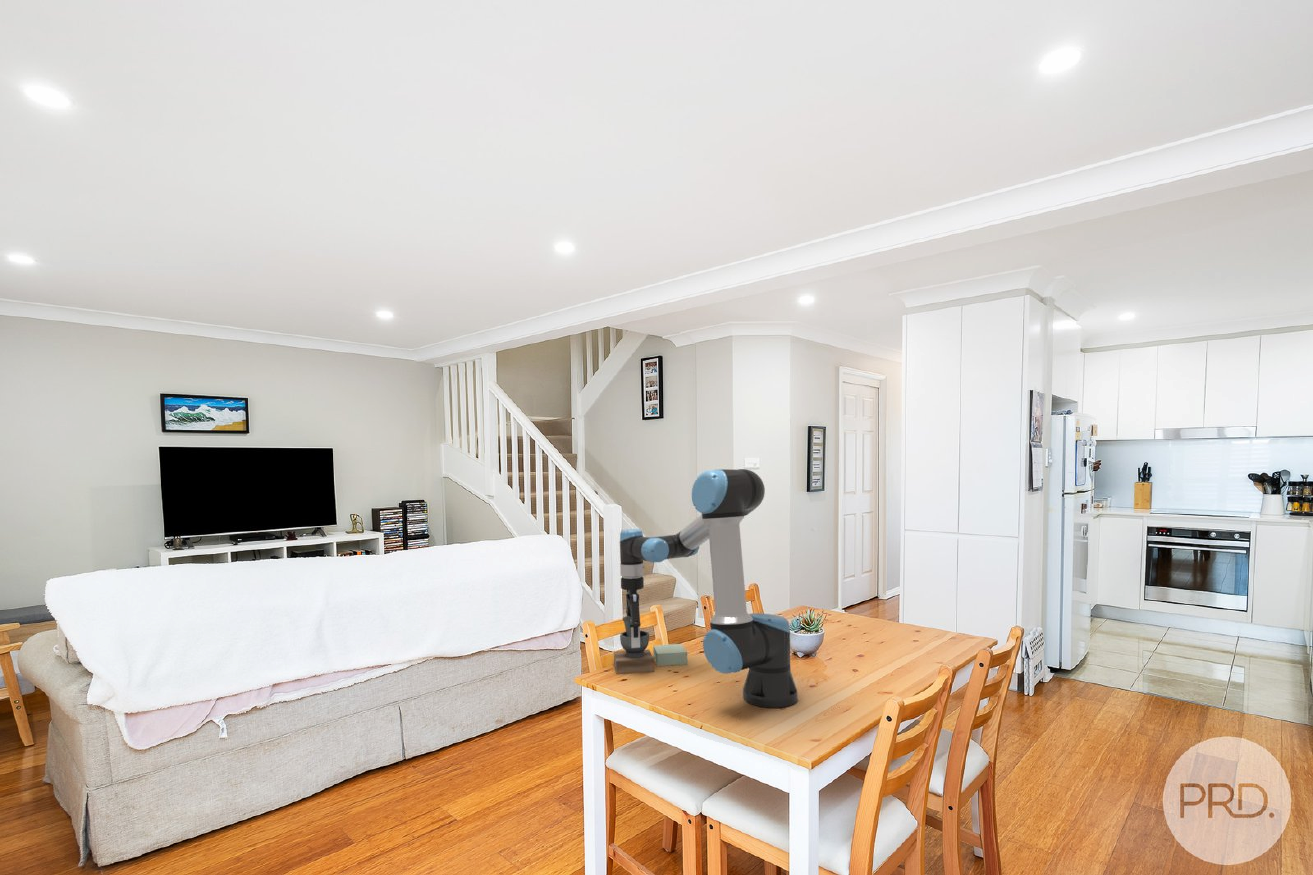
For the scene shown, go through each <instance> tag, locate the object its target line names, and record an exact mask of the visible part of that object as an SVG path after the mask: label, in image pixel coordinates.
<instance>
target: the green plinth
mask: <svg viewBox="0 0 1313 875" xmlns="http://www.w3.org/2000/svg"><path fill="white" fill-rule="evenodd" d="M652 652H653V655H652V657H653V659H654V661H655V662H654V663H656V666H657V667H665V666H680V665H681V666H683V665H688V651H687V649H686V648H685V646H684V645H683V644H682V643H677V644H676V643H675V644H674V643H673V644H659V645H655V644H654V645H653V648H652Z"/></svg>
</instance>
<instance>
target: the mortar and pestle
mask: <svg viewBox="0 0 1313 875" xmlns="http://www.w3.org/2000/svg"><path fill="white" fill-rule="evenodd" d="M630 619H631V617H630V616H627V615H626V616H623V618H622V621H623V623H624V624H623V625H624V628H625V631H624V632H621V633H620V635H619V640H620V645H621V647H622V649H623V651H626V657H628V658H641V657H643V656H644V650H647V647H648V646H649V641H650V632H648V631H646V630H640V648H632V647H631V627H629V626H630V625H632V623H631V620H630Z"/></svg>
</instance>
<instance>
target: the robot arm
mask: <svg viewBox="0 0 1313 875" xmlns="http://www.w3.org/2000/svg"><path fill="white" fill-rule="evenodd" d="M765 491H766V489H765V485H764V481H763V480H762V478H761V477H760V476H759V475H758V474H757V473H756V472H754V471H752V470H750V469H745V468H744V469H743V468H741V469H737V468H736V469H729V468H728V469H718V468H717V469H711V470H706V471H704V472H701V473H700V474H699V475H698V476H697V477H696V479H695V481H694V482H693V484H692V487H691V502H692V505H693V506H694V507H695V510H696V511H697V512H699V513H700V515H698V517H696V518H695V519H693V520H692V521H691V522H690V523H689V524H688V525H686V526H685V527H684V528H683V529H681V530H680V531H678V532H677V533H675V534H669V535H660V536H651V537H650V536H644V535H643V534H644V533H643V530H641V529H639V528H628V529H622V530H620V532H619V534H620V535H619V554H620V555H619V558H620V564H619V565H620V568H619V569H620V576H621V578H620V588H621V589H622V590H624V591H626V594H625V597H626V600H625V601H626V611H625V613H626V616H630V617H631V619H630V620H631V623H632V625H630V626H629V627H631V647H632V648H640V631H641V616H640V614H641V613H640V594H639V593H638V592H637V591H638V590H640V591H641V590H642V589H644V586H645V584H644V581H645V580H644V579H645V578H644V577H643V576H644V570H645V569H646V565H644V562H649V563H651V564H652V563H654V564H655V563H662V562H663V561H665V560H670V559H671V560H672V559H679V558H688V557H692V556H695V555H697V553H698V552H699V549H700V546H701V545H703V544H704V543H706V542H707V541H708V540H709V551H710V552H709V554H710V564H711V566H710V567H711V577H712V578H711V579H712V589H713V603H714V615H713V616H712V617H711V619H710V620H709V622H710V624H709V625H710V629H709V630H708V631H707V632H706V633H705V635H704V636H703V639H702V648H703V653H704V656H705V658H706V661H708V663H709V664H710V665H711V667H712V668H713V669H714V670H715V671H716V672H718V673H720V674H727V675H728V674H733V673H739V672H742V671H744V670H747V669H748V670H747V671H748V672H747V675H746V678H745V680H744V685H743V688H742V689H743V690H742V695H743V696H742V698H743V699H744V701H745V702H747V703H748V704H751V705H753V706H757V707H761V708H769V709H771V708H773V709H774V708H785V707H790V706H793V705H795V704H796V703H797V702H798V699H799V698H798V693H799V692H798V689H797V686H796V684H795V680H794V677H793V673H792V670H791V630H790V623H789V621H788V619H787V618H786V617H784V616H781V615H777V614H771V613H770V614H769V613H762V612H761V613H756V612H755V613H754V612H753V613H748V612H747V599H746V588H745V576H744V561H743V551H742V539H741V527H740V526H741V525H740V524H741V522H742V521H743V519H744V518H745V517H746V516H748V515H749V514H750V513H752V512H753V511H755V510H756V509H757V508H758V507H759V506H760V505H761V503H762V502H763V500H764V497H765V493H766V492H765Z"/></svg>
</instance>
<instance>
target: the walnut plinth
mask: <svg viewBox="0 0 1313 875" xmlns="http://www.w3.org/2000/svg"><path fill="white" fill-rule="evenodd" d="M654 661H655V659H654V657H653V655H652V652H651V650H650V649H645V650H644V656H643V657H641V658H628V657H626V651H625V650H617V651H616V652H615V651H613V666H614V669H615V673H616V675H621V674H622V675H623V674H641V673H652V672H653V673H655V664H654V663H655V662H654Z"/></svg>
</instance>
